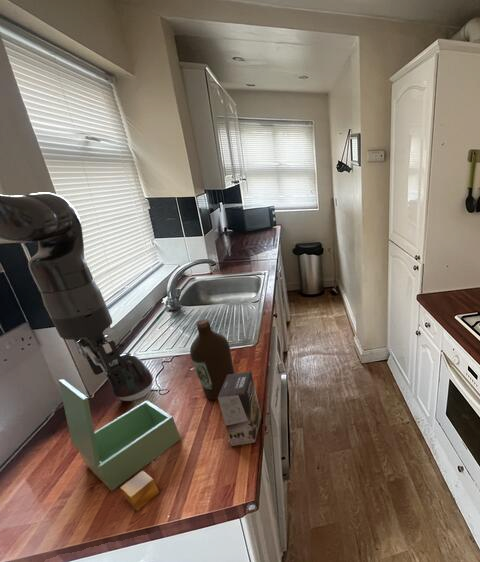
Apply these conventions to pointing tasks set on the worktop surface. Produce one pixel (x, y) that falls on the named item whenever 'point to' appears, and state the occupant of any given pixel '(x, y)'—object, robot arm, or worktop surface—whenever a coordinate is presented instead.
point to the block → (139, 490)
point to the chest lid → (79, 421)
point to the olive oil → (211, 359)
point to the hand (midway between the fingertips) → (110, 378)
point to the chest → (132, 443)
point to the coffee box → (240, 408)
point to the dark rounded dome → (134, 379)
